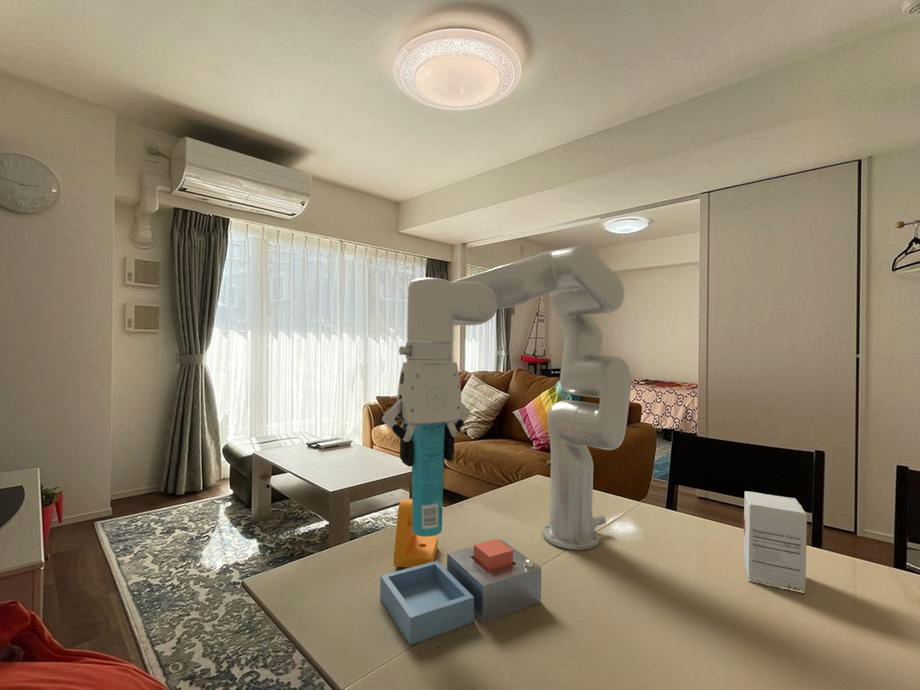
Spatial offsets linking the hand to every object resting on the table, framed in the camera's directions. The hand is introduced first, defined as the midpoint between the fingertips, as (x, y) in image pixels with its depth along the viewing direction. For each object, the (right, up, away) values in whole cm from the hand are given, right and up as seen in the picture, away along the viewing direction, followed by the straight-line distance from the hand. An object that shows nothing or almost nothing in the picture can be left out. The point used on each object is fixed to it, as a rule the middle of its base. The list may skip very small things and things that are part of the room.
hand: (427, 460), depth 71 cm
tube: (0, -12, 0) cm, 12 cm away
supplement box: (+66, -26, +12) cm, 72 cm away
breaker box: (+11, -25, +5) cm, 28 cm away
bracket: (-3, -25, +17) cm, 31 cm away
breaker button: (+11, -24, +5) cm, 27 cm away
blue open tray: (0, -25, 0) cm, 25 cm away
